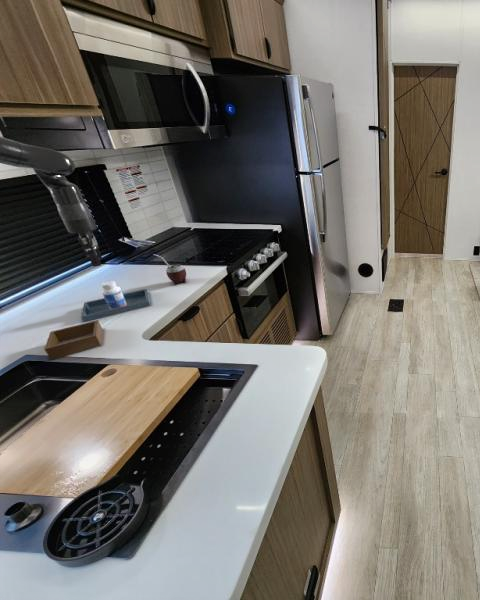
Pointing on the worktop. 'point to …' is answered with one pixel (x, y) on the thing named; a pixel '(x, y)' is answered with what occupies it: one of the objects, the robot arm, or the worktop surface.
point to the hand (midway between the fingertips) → (97, 262)
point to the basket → (77, 345)
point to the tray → (101, 308)
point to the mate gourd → (175, 272)
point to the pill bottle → (113, 295)
